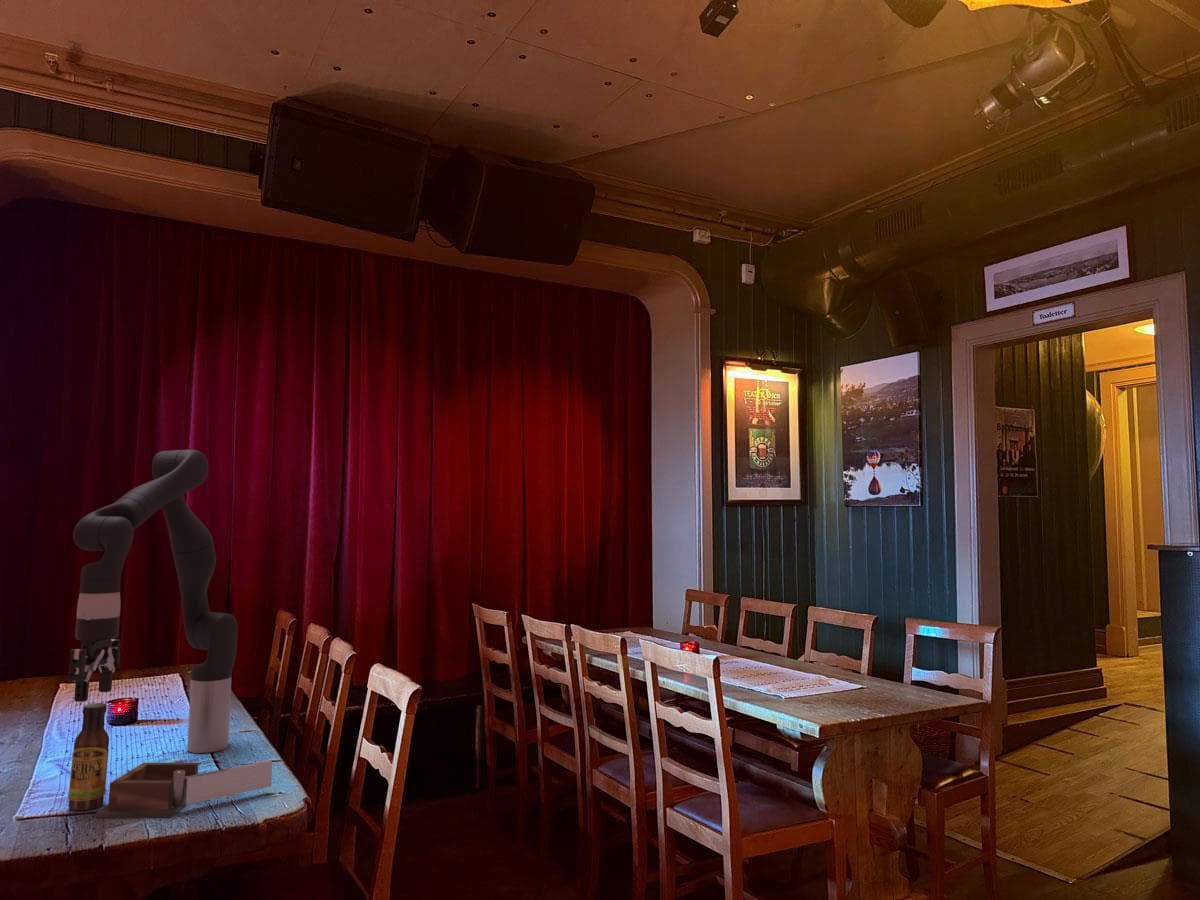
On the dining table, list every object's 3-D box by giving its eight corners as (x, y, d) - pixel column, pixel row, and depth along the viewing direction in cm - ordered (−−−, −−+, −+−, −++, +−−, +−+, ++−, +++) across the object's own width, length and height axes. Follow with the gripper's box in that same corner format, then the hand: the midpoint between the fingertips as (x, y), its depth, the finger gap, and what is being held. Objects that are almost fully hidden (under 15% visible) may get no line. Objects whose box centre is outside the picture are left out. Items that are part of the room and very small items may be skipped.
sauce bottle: (63, 813, 159) (69, 709, 161) (73, 802, 165) (79, 702, 167) (100, 810, 161) (106, 707, 163) (109, 799, 167) (115, 700, 169)
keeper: (173, 807, 159) (175, 773, 160) (170, 805, 161) (172, 771, 161) (271, 786, 172) (273, 754, 173) (267, 784, 174) (269, 752, 174)
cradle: (138, 789, 173) (139, 760, 174) (205, 789, 174) (207, 760, 175) (95, 817, 158) (97, 785, 158) (170, 817, 158) (172, 785, 159)
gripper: (99, 610, 173) (93, 688, 172) (58, 619, 159) (52, 704, 158) (135, 611, 173) (130, 689, 172) (97, 619, 159) (92, 704, 158)
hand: (93, 696), depth 165 cm, fingers open, 8 cm apart
